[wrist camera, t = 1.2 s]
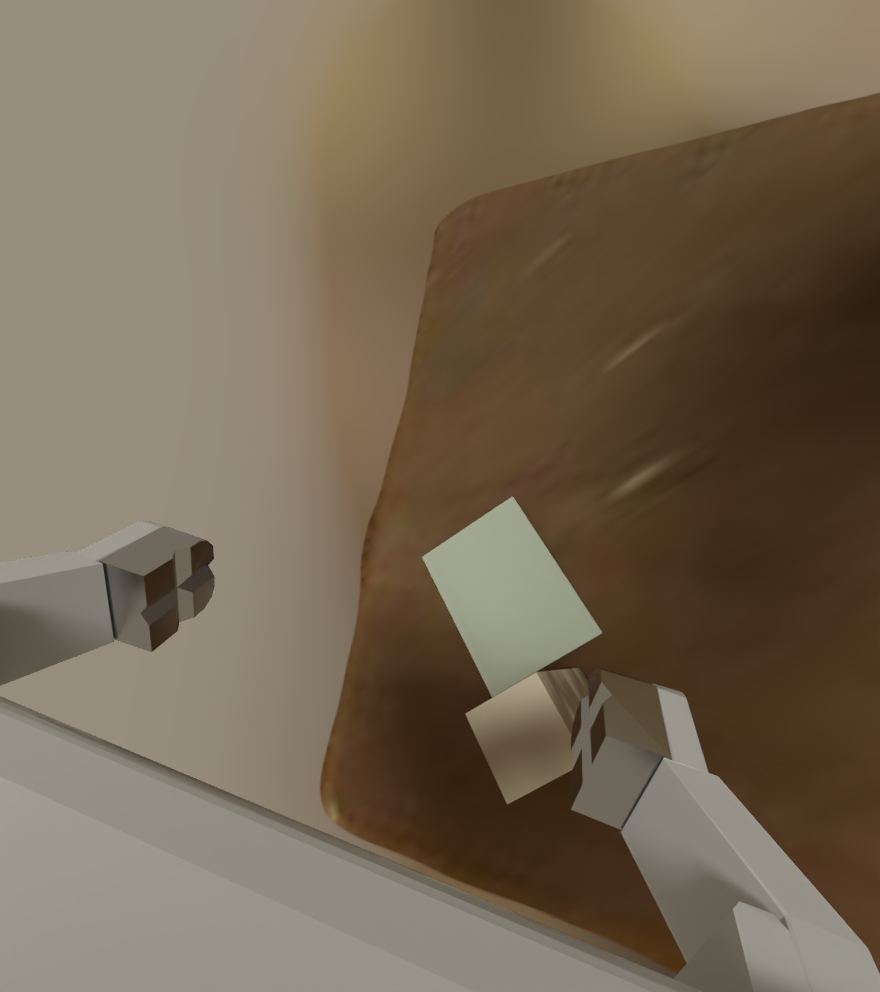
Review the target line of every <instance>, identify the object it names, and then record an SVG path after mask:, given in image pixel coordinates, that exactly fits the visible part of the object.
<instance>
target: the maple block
mask: <svg viewBox="0 0 880 992" xmlns="http://www.w3.org/2000/svg"><path fill="white" fill-rule="evenodd" d="M587 696H589V685H588V681H587V679H586V678H585V676H584V674H583V673H582V671H581V670H580V668H571V669H561V670H552V671H543V672H536V673H534V674H532V675H531V676H529V677H527V678H525V679H524V680H522V681H520V682H519V683H517V684H515V685H513V686H512V687H510V688H508V689H507V690H505V691H503V692H502V693H500V694H498V695H496V696H495V697H493V698H491V699H490V700H488V701H486V702H484V703H483V704H481V705H479V706H478V707H476V708H474V709H473V710H471V711H469V712H467V713H466V714H465V715H466V717H467V719H468V721H469V723H470V725H471V728H472V730H473V732H474V734H475V736H476V738H477V740H478V743H479V745H480V747H481V749H482V751H483V753H484V756H485V758H486V760H487V762H488V764H489V766H490V769H491V771H492V773H493V775H494V777H495V779H496V781H497V784H498V786H499V788H500V790H501V792H502V794H503V797H504V799H505V801H506V803H507V804H509V803H511V802H513V801H515V800H517V799H519V798H520V797H522V796H524V795H526V794H528V793H530V792H532V791H534V790H535V789H537V788H539V787H541V786H543V785H545V784H547V783H548V782H550V781H552V780H554V779H556V778H558V777H560V776H562V775H563V774H565V773H567V772H569V771H571V770H573V767H574V765H575V763H576V759H575V757H574V756H573V754H572V752H571V735H572V727H573V722H574V718H575V714H576V711H577V708H578V706H579V703H580V701H581V699H583V698H585V697H587Z"/></svg>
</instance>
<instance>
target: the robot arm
mask: <svg viewBox="0 0 880 992" xmlns="http://www.w3.org/2000/svg"><path fill="white" fill-rule="evenodd" d="M213 559H214V555H213V545H212V544H210V543H209V542H208V541H207V540H204V539H201V538H198V537H195V536H193V535H190V534H187V533H184V532H181V531H178V530H175V529H173V528H170V527H166V526H162V525H160V524H157V523H154V522H151V521H139V522H137V523H135V524H133V525H131V526H129V527H127V528H125V529H123V530H121V531H119V532H117V533H115V534H113V535H111V536H109V537H107V538H105V539H103V540H101V541H98V542H96V543H94V544H92V545H91V546H88V547H86V548H84V549H82V550H80V551H78V552H76V553H71V552H61V553H55V554H48V555H42V556H36V557H29V558H23V559H18V560H11V561H5V562H0V686H1V685H3V684H6V683H8V682H11V681H13V680H16V679H19V678H21V677H24V676H26V675H29V674H31V673H34V672H37V671H39V670H42V669H44V668H47V667H50V666H52V665H55V664H57V663H60V662H63V661H65V660H68V659H70V658H73V657H76V656H78V655H81V654H83V653H86V652H88V651H91V650H94V649H96V648H99V647H101V646H104V645H106V644H109V643H112V642H114V639H115V640H118V641H121V642H124V643H127V644H130V645H133V646H136V647H139V648H142V649H144V650H147V651H151V652H152V651H154V650H155V649H156V648H157V647H158V646H160V645H161V644H162V643H163V642H165V641H166V640H167V639H168V638H169V637H171V636H172V635H173V634H174V633H176V632H177V631H178V626H179V622H180V621H183V620H187V619H190V618H194V617H195V616H196V615H197V614H198V613H200V612H201V611H202V610H203V609H204V608H205V606H206V605H207V603H208V602H209V600H210V598H211V597H212V594H213V590H214V575H213V573H212V571H211V570H210V568H209V566H208V565H209V564H210V562H211V561H212V560H213ZM588 685H589V696H587V697H585V698H583V699H581V701H580V703H579V706H578V708H577V711H576V714H575V718H574V722H573V727H572V735H571V752H572V754H573V756H574V757H575V759H576V763H575V765H574V767H573V770H572V772H571V810H573V811H576V812H578V813H581V814H583V815H586V816H588V817H591V818H593V819H596V820H598V821H601V822H603V823H605V824H608V825H610V826H613V827H615V828H618V829H620V830H622V831H621V834H622V836H623V838H624V840H625V842H626V844H627V846H628V848H629V850H630V852H631V854H632V856H633V858H634V860H635V862H636V864H637V866H638V868H639V870H640V872H641V873H642V875H643V877H644V879H645V881H646V883H647V885H648V887H649V889H650V891H651V893H652V895H653V897H654V899H655V901H656V903H657V905H658V907H659V909H660V911H661V913H662V915H663V917H664V919H665V921H666V923H667V925H668V927H669V929H670V931H671V933H672V935H673V937H674V939H675V941H676V943H677V945H678V947H679V949H680V951H681V953H682V955H683V957H684V959H685V961H686V963H687V964H686V965H685V966H684V967H683V969H682V970H681V971H680V972H679V973H678V974H677V976H676V977H675V978H674V979H672V978H670V977H668V976H665V975H663V974H660V973H658V972H656V971H653V970H651V969H649V968H646V967H644V966H641V965H639V964H637V963H634V962H631V961H629V960H627V959H625V958H622V957H620V956H618V955H615V954H613V953H610V952H608V951H606V950H603V949H601V948H599V947H596V946H594V945H591V944H589V943H587V942H584V941H582V940H579V939H577V938H575V937H572V936H570V935H568V934H565V933H563V932H560V931H558V930H556V929H553V928H551V927H549V926H546V925H544V924H541V923H539V922H536V921H534V920H532V919H529V918H527V917H525V916H522V915H520V914H518V913H515V912H513V911H510V910H508V909H506V908H503V907H501V906H498V905H496V904H494V903H491V902H489V901H486V900H484V899H482V898H480V897H477V896H475V895H472V894H470V893H468V892H465V891H463V890H460V889H458V888H456V887H453V886H450V885H448V884H446V883H444V882H441V881H439V880H436V879H434V878H432V877H429V876H427V875H425V874H422V873H420V872H417V871H415V870H413V869H410V868H408V867H405V866H403V865H401V864H398V863H396V862H393V861H391V860H388V859H386V858H384V857H381V856H379V855H377V854H374V853H372V852H370V851H367V850H365V849H362V848H360V847H358V846H355V845H353V844H350V843H348V842H346V841H343V840H341V839H339V838H336V837H334V836H331V835H329V834H327V833H324V832H321V831H319V830H317V829H315V828H312V827H310V826H307V825H305V824H303V823H300V822H298V821H295V820H293V819H290V818H288V817H286V816H284V815H281V814H279V813H276V812H274V811H272V810H269V809H267V808H264V807H262V806H260V805H257V804H255V803H253V802H250V801H248V800H245V799H243V798H241V797H238V796H236V795H234V794H231V793H229V792H226V791H224V790H222V789H219V788H217V787H215V786H212V785H210V784H207V783H205V782H203V781H200V780H198V779H196V778H193V777H191V776H188V775H186V774H184V773H181V772H179V771H176V770H174V769H172V768H169V767H167V766H165V765H162V764H160V763H157V762H155V761H153V760H150V759H148V758H146V757H143V756H141V755H139V754H136V753H134V752H131V751H129V750H127V749H124V748H122V747H119V746H117V745H115V744H112V743H110V742H108V741H105V740H103V739H100V738H98V737H96V736H93V735H91V734H88V733H86V732H84V731H81V730H79V729H77V728H74V727H72V726H69V725H67V724H65V723H62V722H60V721H58V720H55V719H53V718H50V717H48V716H46V715H43V714H41V713H38V712H36V711H34V710H31V709H29V708H26V707H24V706H22V705H19V704H17V703H15V702H12V701H10V700H7V699H5V698H3V697H0V992H880V974H879V972H878V969H877V967H876V965H875V963H874V961H873V958H872V956H871V954H870V952H869V950H868V948H867V947H866V946H865V944H864V943H863V942H862V941H861V940H860V939H859V938H858V936H857V935H856V934H855V933H854V932H853V931H852V929H851V928H850V927H849V926H848V925H847V924H846V923H845V921H844V920H843V919H842V918H841V917H840V916H839V915H838V913H837V912H836V911H835V910H834V909H833V908H832V907H831V905H830V904H829V903H828V902H827V901H826V900H825V898H824V897H823V896H822V895H821V894H820V893H819V892H818V890H817V889H816V888H815V887H814V886H813V885H812V884H811V882H810V881H809V880H808V879H807V878H806V877H805V876H804V874H803V873H802V872H801V871H800V870H799V869H798V867H797V866H796V865H795V864H794V863H793V862H792V861H791V859H790V858H789V857H788V856H787V855H786V854H785V853H784V851H783V850H782V849H781V848H780V847H779V846H778V845H777V843H776V842H775V841H774V840H773V839H772V838H771V836H770V835H769V834H768V833H767V832H766V831H765V830H764V828H763V827H762V826H761V825H760V824H759V823H758V822H757V820H756V819H755V818H754V817H753V816H752V815H751V814H750V812H749V811H748V810H747V809H746V808H745V807H744V805H743V804H742V803H741V802H740V801H739V800H738V799H737V797H736V796H735V795H734V794H733V793H732V792H731V791H730V789H729V788H728V787H727V786H726V785H725V784H724V783H723V781H722V780H721V779H720V778H719V777H718V776H716V775H713V774H710V773H709V772H708V769H707V765H706V762H705V759H704V755H703V752H702V749H701V745H700V742H699V739H698V735H697V732H696V729H695V725H694V722H693V719H692V715H691V712H690V709H689V705H688V702H687V699H686V696H685V695H684V694H683V693H682V692H680V691H677V690H673V689H670V688H666V687H663V686H660V685H656V684H650V683H647V682H644V681H641V680H638V679H635V678H631V677H628V676H625V675H622V674H619V673H616V672H613V671H609V670H606V669H603V668H600V667H596V668H595V670H594V671H593V673H592V675H591V677H590V680H589V682H588Z"/></svg>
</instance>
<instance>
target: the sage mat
mask: <svg viewBox="0 0 880 992" xmlns="http://www.w3.org/2000/svg"><path fill="white" fill-rule="evenodd" d="M422 558H423V560H424V562H425V564H426V566H427V568H428V570H429V572H430V574H431V576H432V578H433V580H434V582H435V584H436V586H437V588H438V590H439V592H440V594H441V596H442V598H443V600H444V602H445V604H446V606H447V608H448V610H449V612H450V614H451V616H452V618H453V620H454V622H455V624H456V626H457V628H458V630H459V632H460V634H461V636H462V638H463V640H464V642H465V644H466V646H467V648H468V650H469V652H470V654H471V656H472V658H473V660H474V662H475V664H476V666H477V668H478V670H479V672H480V674H481V676H482V678H483V680H484V682H485V684H486V686H487V688H488V690H489V692H490V694H491V696H492V697H495V696H496V695H498V694H500V693H501V692H503V691H505V690H507V689H508V688H510V687H512V686H513V685H515V684H517V683H519V682H520V681H522V680H524V679H525V678H527V677H529V676H530V675H532V674H534V673H536V672H537V671H539V670H541V669H542V668H544V667H546V666H548V665H549V664H551V663H553V662H554V661H556V660H558V659H560V658H561V657H563V656H565V655H566V654H568V653H570V652H571V651H573V650H575V649H577V648H578V647H580V646H582V645H583V644H585V643H587V642H589V641H590V640H592V639H594V638H595V637H597V636H599V635H600V634H602V631H601V630H600V628H599V627H598V625H597V624H596V622H595V621H594V619H593V617H592V616H591V614H590V613H589V611H588V610H587V608H586V607H585V605H584V604H583V602H582V601H581V599H580V598H579V596H578V595H577V593H576V592H575V590H574V589H573V587H572V586H571V584H570V582H569V581H568V579H567V578H566V576H565V575H564V573H563V572H562V570H561V569H560V567H559V566H558V564H557V563H556V561H555V560H554V558H553V557H552V555H551V554H550V552H549V551H548V549H547V547H546V546H545V544H544V543H543V541H542V540H541V538H540V537H539V535H538V534H537V532H536V531H535V529H534V528H533V526H532V525H531V523H530V522H529V520H528V519H527V517H526V515H525V514H524V512H523V511H522V509H521V508H520V506H519V505H518V503H517V502H516V500H515V499H514V497H513V496H512V497H511V498H509V499H508V500H506V501H505V502H503V503H502V504H500V505H499V506H497V507H496V508H494V509H493V510H491V511H490V512H488V513H487V514H485V515H484V516H482V517H481V518H480V519H478V520H477V521H475V522H474V523H472V524H471V525H469V526H468V527H466V528H465V529H463V530H462V531H460V532H459V533H457V534H456V535H454V536H453V537H451V538H450V539H448V540H447V541H445V542H444V543H442V544H441V545H439V546H438V547H436V548H435V549H433V550H432V551H430V552H429V553H427V554H426V555H424V556H423V557H422Z"/></svg>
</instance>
